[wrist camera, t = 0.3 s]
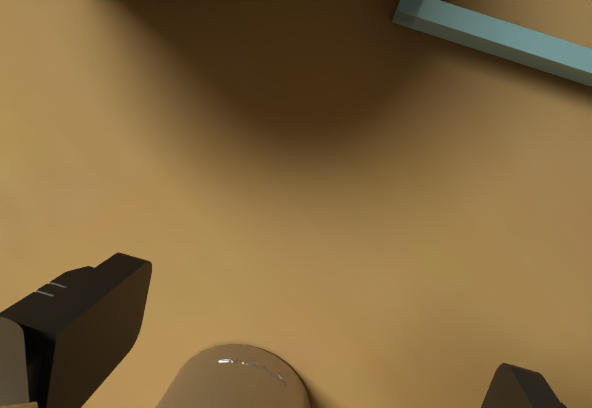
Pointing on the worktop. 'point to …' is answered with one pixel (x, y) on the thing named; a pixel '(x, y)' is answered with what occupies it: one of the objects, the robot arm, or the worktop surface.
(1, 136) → the worktop surface
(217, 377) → the robot arm
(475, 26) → the teal low frame
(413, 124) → the worktop surface
